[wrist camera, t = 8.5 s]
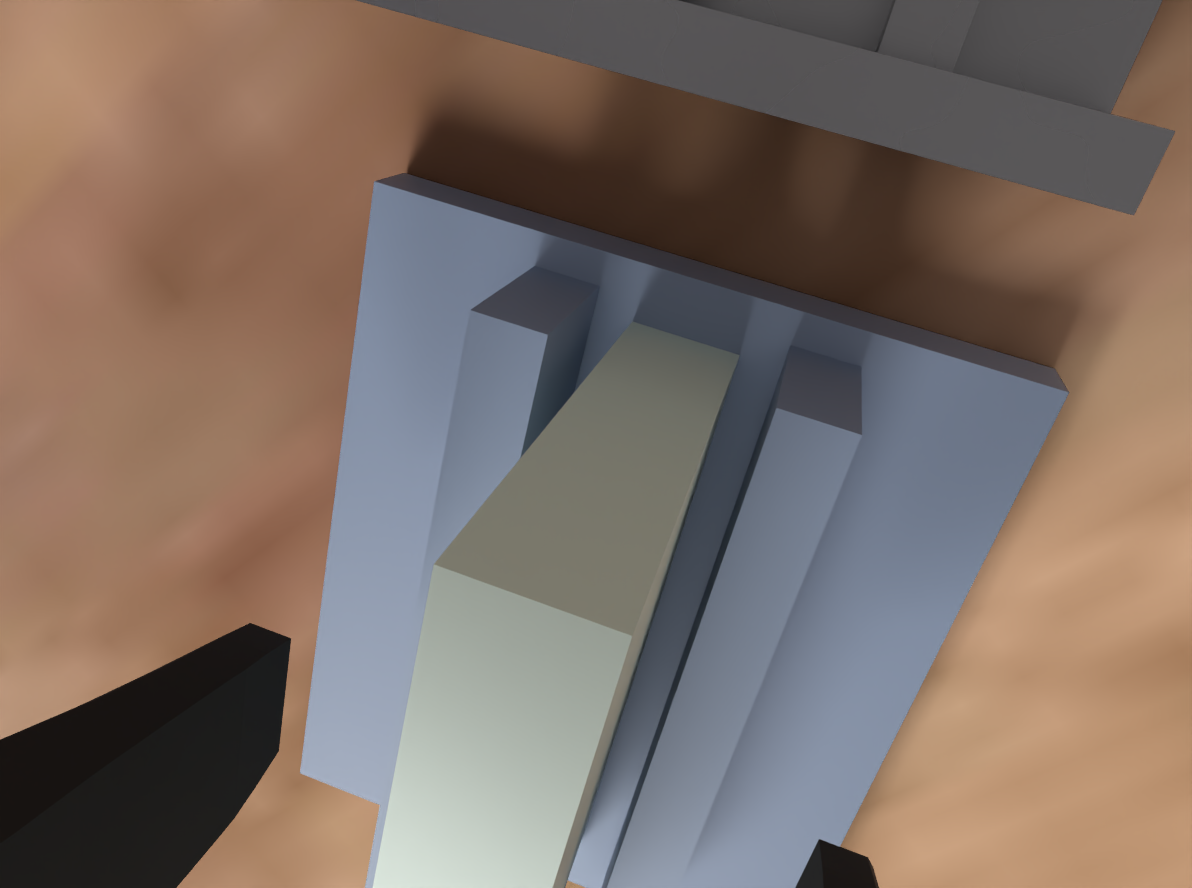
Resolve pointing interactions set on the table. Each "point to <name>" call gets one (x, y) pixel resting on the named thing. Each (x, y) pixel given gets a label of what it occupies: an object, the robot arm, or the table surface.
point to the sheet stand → (709, 537)
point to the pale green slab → (548, 624)
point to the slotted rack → (881, 73)
